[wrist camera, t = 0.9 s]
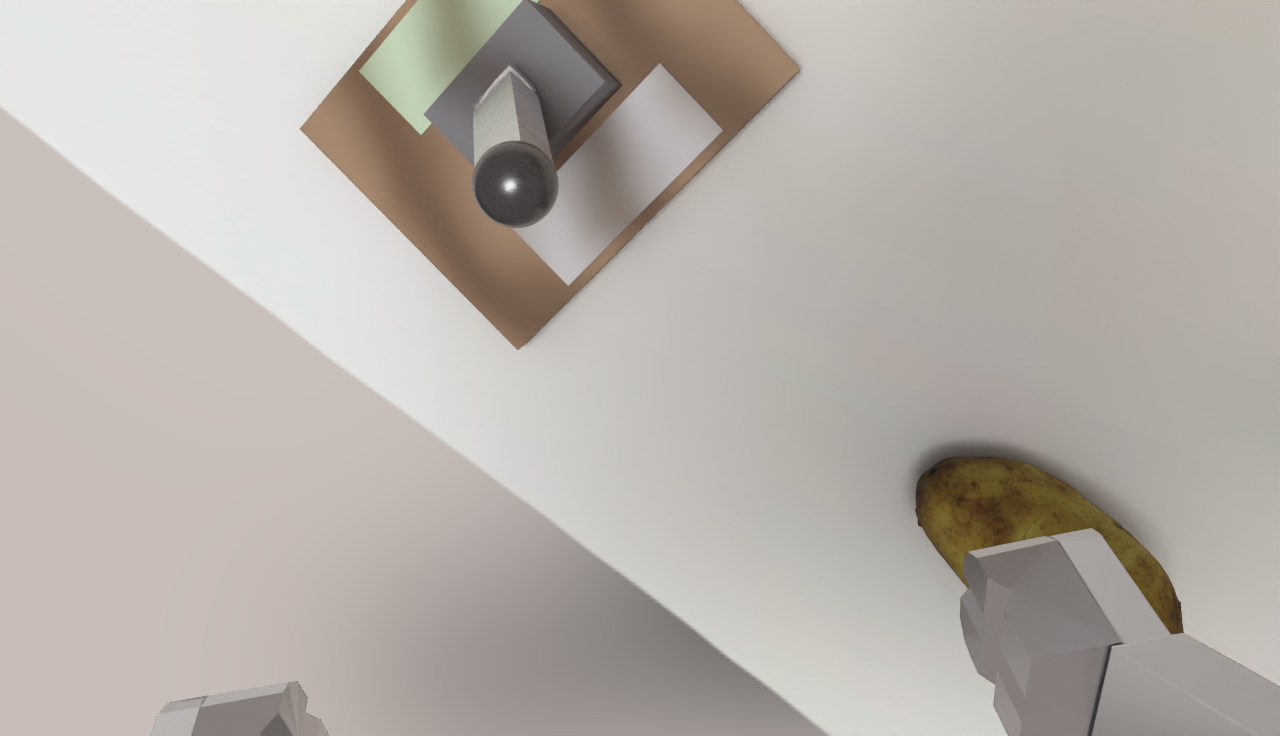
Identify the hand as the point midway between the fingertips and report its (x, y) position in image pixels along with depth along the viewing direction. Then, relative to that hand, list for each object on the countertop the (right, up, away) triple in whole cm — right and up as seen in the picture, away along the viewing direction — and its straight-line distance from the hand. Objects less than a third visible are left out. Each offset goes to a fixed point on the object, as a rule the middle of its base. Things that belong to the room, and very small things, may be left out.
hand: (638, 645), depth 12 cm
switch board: (-5, +17, +38) cm, 42 cm away
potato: (+21, -5, +40) cm, 45 cm away
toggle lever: (-6, +15, +31) cm, 35 cm away
